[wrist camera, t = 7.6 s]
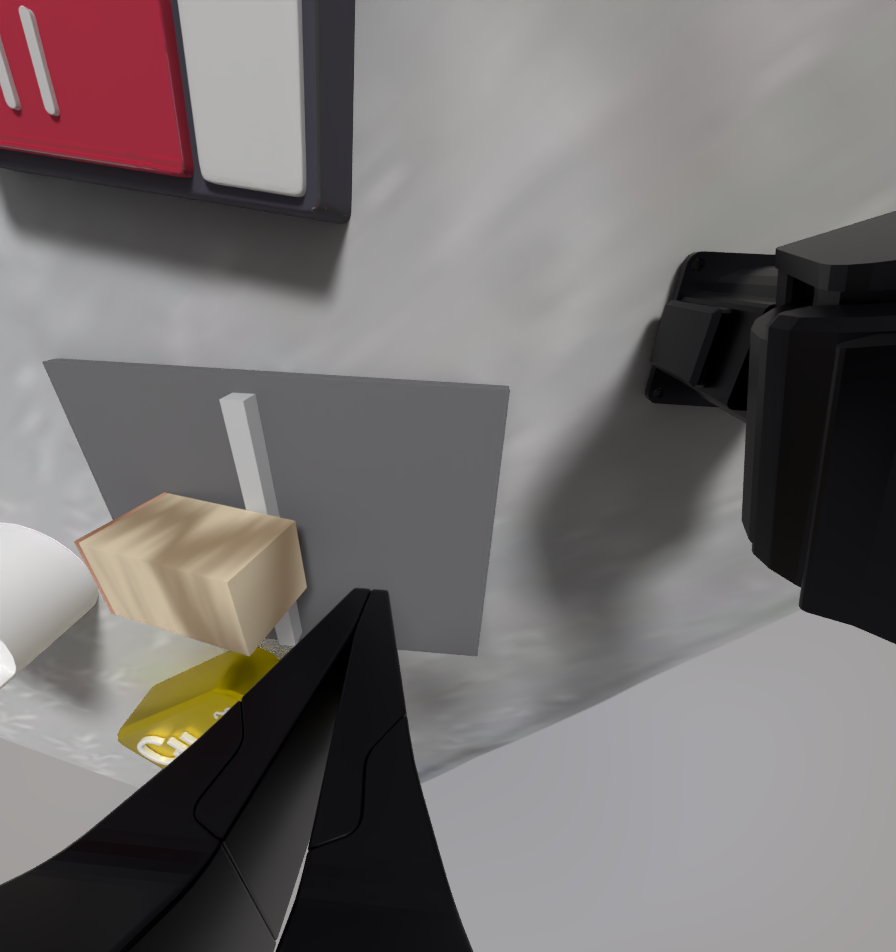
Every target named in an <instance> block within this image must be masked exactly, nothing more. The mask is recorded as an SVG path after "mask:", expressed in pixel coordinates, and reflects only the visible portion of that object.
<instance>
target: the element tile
mask: <svg viewBox="0 0 896 952" xmlns="http://www.w3.org/2000/svg"><path fill="white" fill-rule="evenodd" d="M279 661H280V660H279V659H278V658H277V657H275V656H274V655H273V654H271V653H270V652H268V651H266V650H264V649H262V648H259V647H257V648H256V649H255V651H254V652H253V653H252V654H251V655H250V656H247V655H244V654H240V653H237V652H234V651H231V650H230V651H228V652H226V653H223V654H221V655H219V656H217V657H215V658H213V659H210V660H208V661H206V662H204V663H202V664H200V665H198V666H195V667H193V668H191V669H189V670H187V671H185V672H182V673H180V674H178V675H176V676H174V677H172V678H169V679H167V680H165V681H163V682H161V683H159V684H157V685H155V686H153V687H152V688H151V690H150V691H149V692H148V693H147V695H146V696H145V697H144V699H143V700H142V701H141V702H140V704H139V705H138V706H137V708H136V709H135V710H134V712H133V713H132V714H131V715H130V717H129V718H128V719H127V721H126V722H125V723H124V725H123V726H122V727H121V728H120V730H119V733H118V741H119V742H120V743H121V744H122V745H124V746H125V747H127V748H128V749H130V750H132V751H133V752H135V753H137V754H138V755H140V756H142V757H144V758H145V759H147V760H149V761H150V762H152V763H154V764H155V765H157V766H159V767H160V768H162V769H164V768H165V767H166V766H167V765H168V764H170V763H171V762H172V761H173V760H174V759H175V758H177V757H178V756H179V755H180V754H181V753H182V752H183V751H185V750H186V749H187V748H188V747H189V746H190V745H192V744H193V743H194V742H195V741H196V740H197V739H198V738H199V737H201V736H202V735H203V734H204V733H205V732H206V731H207V730H208V729H209V728H210V727H211V726H212V725H213V724H214V723H216V722H217V721H218V720H219V719H220V718H221V717H222V716H223V715H224V714H225V713H226V712H227V711H228V710H229V709H230V708H231V707H232V706H233V705H234V704H235V703H236V702H237V701H241V698H242V697H243V696H244V695H245V694H246V693H247V692H248V691H249V690H250V689H251V688H252V687H253V686H254V685H255V684H256V683H257V682H258V681H259V680H260V679H261V678H262V677H263V676H264V675H265V674H266V673H267V672H268V671H269V670H270V669H271V668H272V667H274V666H275V665H276V664H277V663H278V662H279Z"/></svg>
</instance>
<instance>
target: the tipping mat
mask: <svg viewBox="0 0 896 952" xmlns="http://www.w3.org/2000/svg"><path fill="white" fill-rule="evenodd" d="M43 364H44V367H45V369H46V371H47V373H48V376H49V378H50V380H51V382H52V385H53V387H54V389H55V391H56V394H57V396H58V398H59V400H60V402H61V405H62V407H63V409H64V411H65V414H66V416H67V418H68V420H69V423H70V425H71V427H72V429H73V432H74V434H75V436H76V438H77V440H78V443H79V445H80V447H81V449H82V452H83V454H84V456H85V458H86V461H87V463H88V465H89V467H90V470H91V472H92V474H93V476H94V478H95V481H96V483H97V485H98V487H99V490H100V492H101V494H102V496H103V499H104V501H105V503H106V505H107V508H108V510H109V512H110V514H111V516H112V519H113V520H114V519H116V518H118V517H120V516H122V515H124V514H125V513H127V512H129V511H131V510H133V509H135V508H136V507H138V506H140V505H142V504H144V503H146V502H148V501H149V500H151V499H153V498H155V497H157V496H159V495H160V494H162V493H164V492H165V493H170V494H174V495H179V496H184V497H188V498H193V499H197V500H202V501H207V502H211V503H216V504H220V505H225V506H230V507H234V508H239V509H243V510H248V511H253V512H257V513H262V514H267V515H271V516H276V517H280V518H285V519H290V520H294V521H295V522H296V528H297V534H298V539H299V545H300V551H301V557H302V562H303V568H304V574H305V579H306V585H307V588H306V589H305V591H304V592H303V593H302V594H301V595H300V597H299V598H298V599H297V600H296V601H295V603H294V604H293V605H292V606H291V607H290V609H289V610H288V611H287V612H286V613H285V615H284V616H283V617H282V618H281V619H280V621H279V622H278V623H277V624H276V625H275V627H274V628H273V629H272V630H271V631H270V633H269V634H268V635H267V636H266V637H265V638H269V639H278V642H279V645H286V646H295V645H296V644H297V643H298V641H300V640H301V639H302V638H303V637H304V636H305V635H306V634H307V633H308V632H309V631H310V630H311V629H313V628H314V627H315V626H316V625H317V624H318V623H319V622H320V621H321V620H322V619H323V618H324V617H325V616H326V615H327V614H328V613H329V612H330V611H331V610H332V609H333V608H334V607H335V606H336V605H337V604H338V603H339V602H340V601H341V600H342V599H343V598H344V597H345V596H346V595H347V594H348V593H349V592H350V591H352V590H353V589H354V588H368V589H370V590H371V591H372V590H373V589H381V590H387V591H388V592H389V597H390V604H391V611H392V617H393V624H394V631H395V638H396V645H397V649H398V650H410V651H422V652H433V653H445V654H457V655H468V656H477V654H478V646H479V637H480V629H481V621H482V613H483V605H484V597H485V588H486V580H487V572H488V564H489V556H490V548H491V539H492V531H493V523H494V515H495V507H496V499H497V490H498V482H499V474H500V466H501V458H502V450H503V441H504V433H505V425H506V417H507V409H508V401H509V392H510V390H509V386H500V385H483V384H467V383H450V382H434V381H418V380H401V379H385V378H368V377H352V376H336V375H319V374H303V373H286V372H270V371H254V370H237V369H221V368H205V367H188V366H172V365H155V364H139V363H123V362H106V361H90V360H73V359H52V360H48V361H43Z"/></svg>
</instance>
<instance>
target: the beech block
mask: <svg viewBox="0 0 896 952" xmlns="http://www.w3.org/2000/svg"><path fill="white" fill-rule="evenodd" d="M74 543H75V544H76V546H77V548H78V550H79V552H80V554H81V556H82V558H83V560H84V562H85V564H86V565H87V567H88V569H89V571H90V573H91V575H92V577H93V579H94V581H95V583H96V585H97V587H98V588H99V590H100V592H101V594H102V596H103V598H104V600H105V602H106V604H107V606H108V608H109V609H110V611H111V613H112V614H115V615H118V616H122V617H125V618H128V619H131V620H135V621H138V622H141V623H144V624H147V625H151V626H154V627H157V628H160V629H163V630H167V631H170V632H173V633H176V634H179V635H183V636H186V637H189V638H192V639H195V640H199V641H202V642H205V643H208V644H211V645H215V646H218V647H221V648H224V649H227V650H231V651H234V652H237V653H240V654H244V655H247V656H250V655H251V654H252V653H253V652H254V651H255V649H256V648H257V647H258V646H259V645H260V643H261V642H262V641H263V640H264V639H265V637H266V636H267V635H268V634H269V633H270V631H271V630H272V629H273V628H274V627H275V625H276V624H277V623H278V622H279V621H280V619H281V618H282V617H283V616H284V615H285V613H286V612H287V611H288V610H289V609H290V607H291V606H292V605H293V604H294V603H295V601H296V600H297V599H298V598H299V597H300V595H301V594H302V593H303V592H304V591H305V589H306V588H307V585H306V579H305V574H304V568H303V562H302V557H301V551H300V545H299V539H298V534H297V528H296V522H295V521H294V520H290V519H285V518H280V517H276V516H271V515H267V514H262V513H257V512H253V511H248V510H243V509H239V508H234V507H230V506H225V505H220V504H216V503H211V502H207V501H202V500H197V499H193V498H188V497H184V496H179V495H174V494H170V493H165V492H164V493H162V494H160V495H159V496H157V497H155V498H153V499H151V500H149V501H148V502H146V503H144V504H142V505H140V506H138V507H136V508H135V509H133V510H131V511H129V512H127V513H125V514H124V515H122V516H120V517H118V518H116V519H114V520H113V521H111V522H109V523H107V524H105V525H103V526H102V527H100V528H98V529H96V530H94V531H92V532H91V533H89V534H87V535H85V536H83V537H81V538H80V539H78V540H76V541H74Z"/></svg>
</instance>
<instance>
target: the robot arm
mask: <svg viewBox="0 0 896 952" xmlns="http://www.w3.org/2000/svg"><path fill="white" fill-rule="evenodd" d="M697 259H699V260H700V267H699V269H698V270H696V271H693V269H692V265H693V263H694V261H696V260H697ZM650 361H651V363H652V364H653V366H652V370H651V373H650V376H649V380H648V383H647V387H646V390H645V395H646V398H647V399H649V400H650V401H651V402H653V403H659V404H675V405H692V406H708V407H719V408H721V409H723V410H725V411H726V412H728V413H730V414H732V415H733V416H735V417H737V418H739V419H740V420H742V421H744V422H745V423H746V440H745V461H744V482H743V503H742V523H743V525H744V528H745V531H746V533H747V536H748V539H749V540H750V541H751V543H752V552H753V554H754V555H755V556H756V557H757V558H759V559H760V560H761V561H762V562H763V563H764V564H765V565H766V566H767V567H768V568H769V569H771V570H773V571H774V572H776V573H777V574H779V575H781V576H782V577H784V578H785V579H787V580H789V581H790V582H792V583H793V584H795V585H797V586H799V587H801V592H800V599H799V607H800V608H801V609H802V610H803V611H805V612H808V613H811V614H815V615H818V616H822V617H825V618H829V619H832V620H835V621H839V622H842V623H846V624H849V625H853V626H855V627H858V628H860V629H862V630H865V631H867V632H869V633H871V634H874V635H876V636H878V637H881V638H883V639H885V640H888V641H890V642H892V643H895V644H896V211H894V212H891V213H887V214H884V215H881V216H878V217H874V218H871V219H868V220H865V221H861V222H858V223H855V224H852V225H848V226H845V227H842V228H839V229H835V230H832V231H829V232H826V233H822V234H819V235H816V236H813V237H809V238H806V239H803V240H800V241H797V242H793V243H790V244H787V245H784V246H780V247H778V248H776V255H765V254H744V253H724V252H694V253H692V254H690V255H688V256H687V258H686V259H685V260H684V262H683V264H682V267H681V270H680V274H679V277H678V281H677V284H676V288H675V291H674V294H673V298H672V301H670V302H669V303H668V304H667V305H666V306H665V309H664V312H663V316H662V319H661V323H660V326H659V330H658V333H657V337H656V340H655V344H654V347H653V351H652V354H651V358H650ZM659 388H661V392H660V394H659V395H657V396H653V394H654V391H655V390H656V389H659ZM310 836H311V837H310ZM309 840H310V842H309ZM308 843H309V847H308V851H309V852H308V853H307V856H306V861H305V865H304V869H303V873H302V877H301V881H300V885H299V888H298V892H297V895H296V899H295V901H294V904H293V907H292V910H291V912H290V915H289V918H288V920H287V923H286V926H285V929H284V931H283V934H282V936H281V939H280V942H279V944H278V947H277V949H276V952H473V950H472V947H471V945H470V942H469V940H468V937H467V935H466V933H465V930H464V927H463V925H462V922H461V919H460V916H459V913H458V911H457V908H456V905H455V902H454V899H453V896H452V893H451V890H450V887H449V884H448V880H447V877H446V873H445V870H444V866H443V863H442V859H441V856H440V852H439V849H438V845H437V842H436V838H435V835H434V831H433V828H432V824H431V821H430V817H429V814H428V810H427V807H426V803H425V799H424V796H423V792H422V789H421V784H420V780H419V777H418V773H417V769H416V765H415V760H414V755H413V749H412V744H411V738H410V732H409V725H408V718H407V713H406V706H405V699H404V692H403V686H402V679H401V672H400V665H399V658H398V651H397V645H396V638H395V631H394V624H393V617H392V611H391V604H390V597H389V592H388V591H387V590H381V589H373V590H372V591H371V590H370V589H368V588H354V589H353V590H352V591H350V592H349V593H348V594H347V595H346V596H345V597H344V598H343V599H342V600H341V601H340V602H339V603H338V604H337V605H336V606H335V607H334V608H333V609H332V610H331V611H330V612H329V613H328V614H327V615H326V616H325V617H324V618H323V619H322V620H321V621H320V622H319V623H318V624H317V625H316V626H315V627H314V628H313V629H311V630H310V631H309V632H308V633H307V634H306V635H305V636H304V637H303V638H302V639H301V640H300V641H299V642H298V643H297V644H296V645H295V646H294V647H293V648H292V649H291V650H290V651H289V652H288V653H287V654H286V655H285V656H284V657H283V658H282V659H281V660H280V661H279V662H278V663H277V664H276V665H275V666H274V667H272V668H271V669H270V670H269V671H268V672H267V673H266V674H265V675H264V676H263V677H262V678H261V679H260V680H259V681H258V682H257V683H256V684H255V685H254V686H253V687H252V688H251V689H250V690H249V691H248V692H247V693H246V694H245V695H244V696H243V697H242V698H241V701H237V702H236V703H235V704H234V705H233V706H232V707H231V708H230V709H229V710H228V711H227V712H226V713H225V714H224V715H223V716H222V717H221V718H220V719H219V720H218V721H217V722H216V723H214V724H213V725H212V726H211V727H210V728H209V729H208V730H207V731H206V732H205V733H204V734H203V735H202V736H201V737H199V738H198V739H197V740H196V741H195V742H194V743H193V744H192V745H190V746H189V747H188V748H187V749H186V750H185V751H183V752H182V753H181V754H180V755H179V756H178V757H177V758H175V759H174V760H173V761H172V762H171V763H170V764H168V765H167V766H166V767H165V768H164V769H162V770H161V771H160V772H159V773H158V774H156V775H155V776H154V777H153V778H152V779H150V780H149V781H148V782H147V783H146V784H144V785H143V786H142V787H141V788H140V789H138V790H137V791H136V792H135V793H134V794H133V795H131V796H130V797H129V798H128V799H126V800H125V801H124V802H123V803H122V804H120V805H119V806H118V807H117V808H116V809H115V810H113V811H112V812H111V813H110V814H109V815H107V816H106V817H105V818H104V819H102V820H101V821H100V822H99V823H98V824H96V825H95V826H94V827H93V828H92V829H90V830H89V831H88V832H87V833H85V834H84V835H83V836H82V837H80V838H79V839H78V840H76V841H75V842H73V843H72V844H71V845H70V846H68V847H67V848H65V849H64V850H62V851H61V852H59V853H58V854H56V855H55V856H53V857H52V858H50V859H48V860H47V861H45V862H43V863H42V864H40V865H39V866H37V867H35V868H33V869H31V870H29V871H28V872H26V873H24V874H22V875H20V876H17V877H15V878H14V879H11V880H9V881H7V882H5V883H3V884H1V885H0V952H273V951H274V948H275V945H276V942H275V940H276V939H277V938H278V935H279V932H280V929H281V926H282V923H283V920H284V917H285V913H286V911H287V907H288V904H289V901H290V898H291V895H292V892H293V889H294V886H295V883H296V880H297V877H298V874H299V870H300V867H301V864H302V861H303V858H304V855H305V852H306V849H307V846H308Z"/></svg>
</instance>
